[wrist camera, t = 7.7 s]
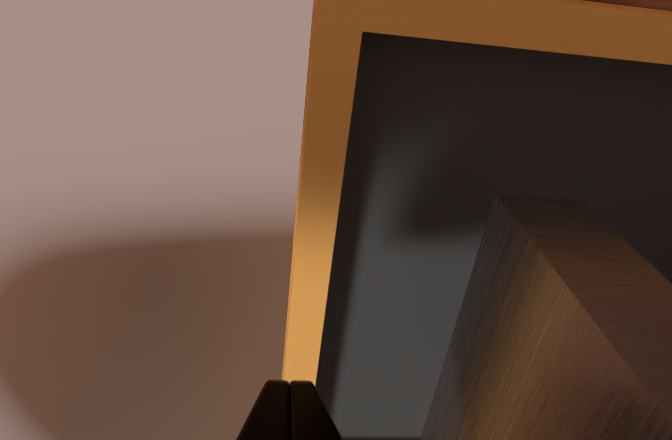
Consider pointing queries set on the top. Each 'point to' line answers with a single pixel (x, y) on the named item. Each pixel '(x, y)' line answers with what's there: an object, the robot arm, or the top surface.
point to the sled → (556, 333)
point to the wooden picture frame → (456, 173)
